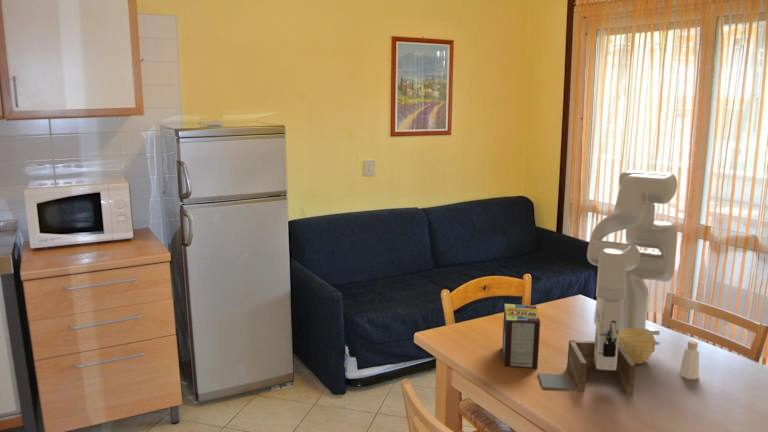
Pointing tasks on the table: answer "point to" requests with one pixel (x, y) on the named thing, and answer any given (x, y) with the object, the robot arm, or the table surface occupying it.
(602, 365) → the syrup box
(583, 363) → the wooden u-shaped stand
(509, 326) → the protein box
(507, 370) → the table surface
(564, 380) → the mat
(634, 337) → the sculpture
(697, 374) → the salt shaker
